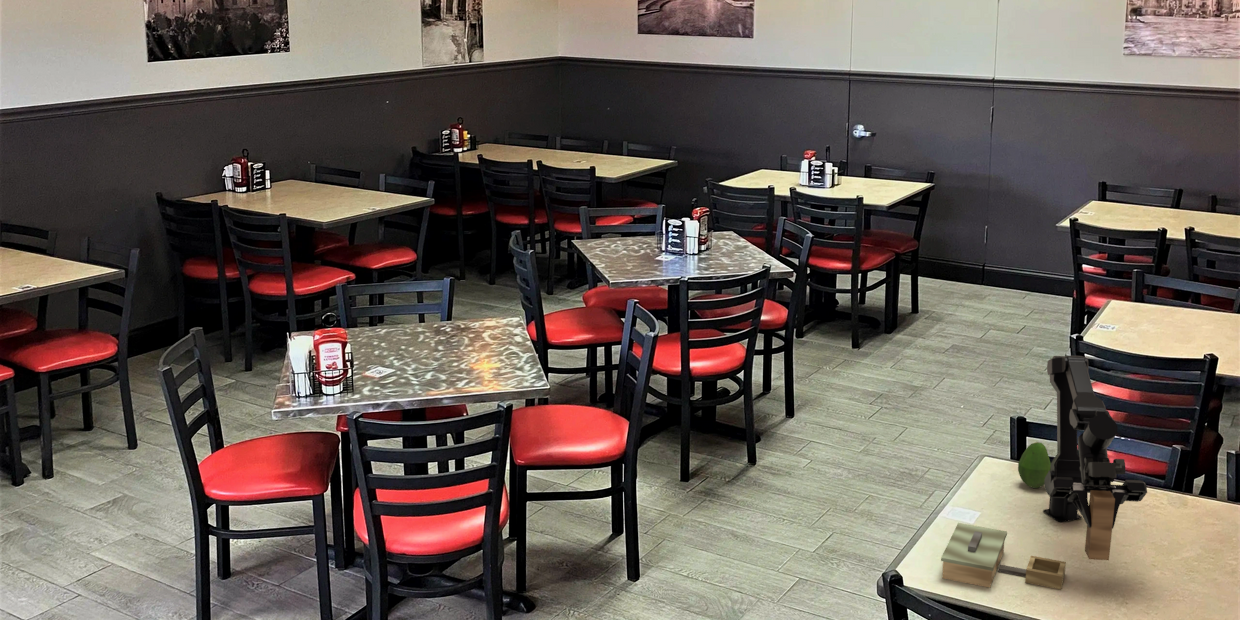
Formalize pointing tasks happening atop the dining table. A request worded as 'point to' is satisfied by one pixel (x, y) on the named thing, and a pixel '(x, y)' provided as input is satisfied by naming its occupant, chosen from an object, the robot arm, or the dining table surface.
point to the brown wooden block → (1100, 525)
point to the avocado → (1034, 465)
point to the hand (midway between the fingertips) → (1101, 527)
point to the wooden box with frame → (992, 559)
